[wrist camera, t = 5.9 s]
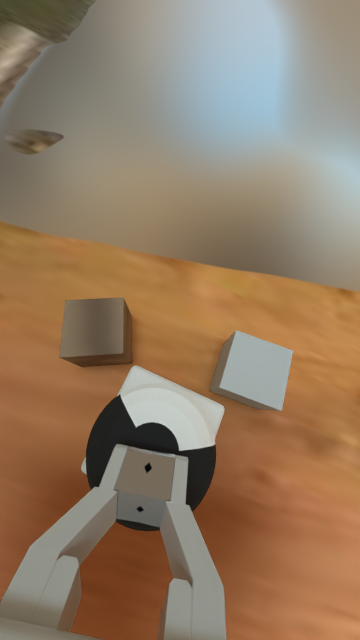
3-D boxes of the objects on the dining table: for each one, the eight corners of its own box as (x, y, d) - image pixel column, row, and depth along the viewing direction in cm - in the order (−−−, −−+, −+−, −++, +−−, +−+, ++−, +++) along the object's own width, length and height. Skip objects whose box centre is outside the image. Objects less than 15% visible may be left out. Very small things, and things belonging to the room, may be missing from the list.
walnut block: (82, 366, 23) (59, 357, 18) (85, 320, 25) (65, 300, 20) (132, 363, 23) (123, 353, 18) (132, 317, 25) (123, 297, 20)
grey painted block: (209, 390, 23) (219, 387, 18) (223, 344, 24) (236, 330, 20) (258, 409, 22) (281, 410, 17) (268, 361, 24) (293, 350, 19)
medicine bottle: (179, 486, 20) (194, 598, 8) (106, 448, 20) (30, 506, 9) (209, 405, 22) (252, 408, 11) (143, 374, 23) (118, 347, 11)
